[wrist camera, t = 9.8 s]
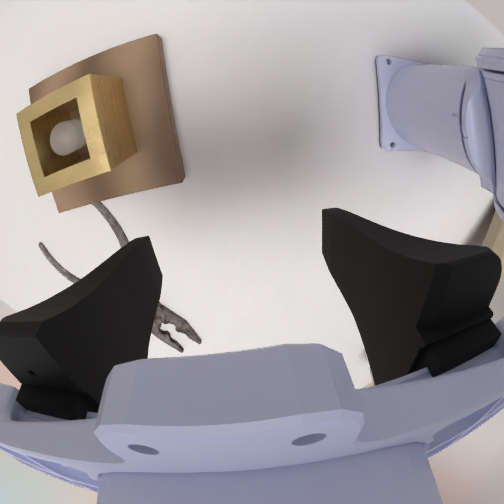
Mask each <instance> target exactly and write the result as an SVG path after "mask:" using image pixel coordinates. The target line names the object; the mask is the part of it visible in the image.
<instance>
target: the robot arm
mask: <svg viewBox="0 0 504 504" xmlns="http://www.w3.org/2000/svg"><path fill="white" fill-rule="evenodd" d="M386 60H388V61H389V64H387V63H386ZM476 61H477V64H478V66H464V65H430V64H426V63H421V62H417V61H412V60H407V59H402V58H396V57H391V56H384V55H380V56H377V58H376V66H377V76H378V88H379V105H380V142H381V147H382V149H384V150H386V151H429V152H431V153H434V154H436V155H439V156H441V157H443V158H446V159H448V160H450V161H452V162H454V163H457V164H459V165H461V166H463V167H465V168H467V169H469V170H471V171H473V172H475V173H477V174H479V176H480V180H481V187H483V188H485V189H486V190H488V191H490V192H492V193H493V194H494V206H495V210H496V212H497V214H498V215H499V217H500V218H501V219H502V220H503V222H504V48H482V49H481V51H480V53H479V55H477V56H476ZM391 142H393V146H392V147H390V143H391ZM322 253H323V256H324V258H325V261H326V264H327V266H328V269H329V271H330V273H331V275H332V277H333V278H334V280H335V282H336V284H337V286H338V288H339V289H340V291H341V293H342V295H343V297H344V298H345V300H346V302H347V304H348V306H349V308H350V310H351V312H352V314H353V316H354V319H355V321H356V324H357V327H358V330H359V332H360V335H361V338H362V341H363V344H364V347H365V350H366V354H367V357H368V361H369V364H370V368H371V372H372V375H373V380H374V384H375V386H373V387H370V388H364V389H355V388H354V385H353V382H352V380H351V377H350V374H349V372H348V369H347V366H346V364H345V361H344V358H343V356H342V354H341V353H339V352H337V351H335V350H332V349H330V348H328V347H326V346H324V345H321V344H316V343H313V344H282V345H276V346H270V347H263V348H257V349H249V350H242V351H234V352H226V353H217V354H207V355H197V356H185V357H171V358H153V359H147V358H148V347H149V341H150V336H151V331H152V327H153V323H154V319H155V315H156V311H157V307H158V303H159V299H160V295H161V287H162V273H161V270H160V267H159V265H158V262H157V259H156V256H155V253H154V250H153V247H152V244H151V241H150V238H149V236H146V237H140V238H136V239H134V240H132V241H130V242H129V243H127V244H126V245H125V246H123V247H122V248H121V249H119V250H118V251H117V252H116V253H114V254H113V255H112V256H111V257H109V258H108V259H107V260H106V261H104V262H103V263H102V264H101V265H99V266H98V267H97V268H95V269H94V270H93V271H91V272H90V273H89V274H88V275H86V276H85V277H83V278H82V279H81V280H79V281H77V282H76V283H74V284H73V285H71V286H70V287H68V288H67V289H65V290H63V291H61V292H60V293H58V294H56V295H54V296H53V297H51V298H49V299H47V300H45V301H43V302H41V303H39V304H37V305H35V306H32V307H30V308H28V309H25V310H23V311H20V312H17V313H15V314H12V315H9V316H6V317H4V318H3V319H2V320H1V321H0V360H1V362H2V363H3V364H4V365H5V366H6V367H7V368H8V370H9V371H10V372H11V373H12V374H13V375H14V376H15V377H16V378H17V379H18V380H19V382H20V383H22V385H21V388H20V390H18V389H17V388H15V387H13V386H10V385H5V384H2V383H0V449H1V450H3V451H4V452H6V453H7V454H9V455H10V456H12V457H13V458H15V459H16V460H18V461H20V462H22V463H23V464H25V465H27V466H29V467H31V468H34V469H36V470H38V471H41V472H43V473H45V474H47V475H50V476H52V477H55V478H58V479H60V480H63V481H65V482H68V483H70V484H73V485H76V486H79V487H82V488H85V489H88V490H91V491H95V492H98V498H97V504H443V503H442V500H441V497H440V494H439V491H438V488H437V484H436V482H435V478H434V476H433V473H432V470H431V467H430V464H429V462H428V459H427V458H429V457H431V456H433V455H435V454H436V453H438V452H440V451H442V450H443V449H445V448H447V447H449V446H450V445H452V444H453V443H455V442H457V441H458V440H460V439H461V438H463V437H464V436H466V435H468V434H469V433H470V432H472V431H473V430H475V429H476V428H478V427H479V426H481V425H482V424H483V423H485V422H486V421H487V420H489V419H490V418H491V417H493V416H494V415H495V414H497V413H498V412H499V411H500V410H502V409H503V408H504V317H503V318H502V319H500V320H499V321H498V322H497V323H496V324H494V323H493V322H492V320H491V319H490V318H492V316H493V312H492V310H491V309H490V308H489V307H488V306H489V304H490V302H491V300H492V298H493V295H494V293H495V291H496V289H497V286H498V284H499V281H500V278H501V272H502V264H501V259H500V258H499V256H498V255H497V254H496V253H495V252H493V251H492V250H491V249H490V248H488V247H486V246H470V245H457V244H450V243H443V242H437V241H432V240H428V239H423V238H419V237H415V236H411V235H408V234H405V233H401V232H398V231H395V230H392V229H390V228H387V227H384V226H382V225H379V224H377V223H374V222H372V221H369V220H367V219H365V218H362V217H360V216H358V215H355V214H353V213H351V212H348V211H345V210H343V209H339V208H330V209H322Z"/></svg>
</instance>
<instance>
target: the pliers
mask: <svg viewBox="0 0 504 504" xmlns="http://www.w3.org/2000/svg"><path fill="white" fill-rule="evenodd" d="M92 205H94V206H95V207H96V209H97V210H98V211H99V212H100V213H101V214H102V215H103V216H104V218H105V219H106V220H107V222H108V223H109V225H110V226H111V228H112V229H113V231H114V232H115V234H116V236H117V238H118V240H119V243H120V246H121V248H122V247H123V246H125V245H126V244H127V243H129V242H128V239H127V237H126V235H125V233H124V232H123V230H122V228H121V226H120V225H119V224H118V222H117V221H116V219H115V218H114V217H113V215H112V214H111V213H110V212H109V211H108V209H107V208H106V207H105V206H104V205H103V204H102V203H101V202H100V201H99V202H96V203H92ZM39 247H40V249H41V251H42V252H43V254H44V255H45V257H46V258H47V259H48V260H49V262H50V263H51V264H52V265H53V266H54V267H55V268H56V269H57V270H58V271H59V272H60V273H61V274H62V275H63V276H65V277H66V278H67V279H68V280H70V281H71V282H73V283H76V282H77V281H79V280H81V279H79V278H77V277H76V276H74V275H72V274H71V273H69V272H68V271H67V270H66V269H64V268H63V267H62V266H61V265H60V264H59V263H58V262H57V261H56V260H55V259H54V258H53V257H52V256H51V254H50V253H49V252H48V250H47V249H46V247H45V246H44V245H43V243H41V242H40V243H39ZM161 323H164V324H168V323H170V324H174V325H175V327H176V331H177V332H181V333H184V334H186V335H187V336H188V338H189V339H191V340H193V341H195V342H197V343H198V344H201V339H200V338H199V336H198V335H197V334H196V332H195V331H194V330H193V329H192V327H191V326H190V325H189V323H188V322H187V321H186V320H185V319H183V318H182V317H180V316H178V315H177V314H175V313H174V312H172V311H171V310H169V309H168V308H166V307H165V306H163V305H162V306H161V303H160V302H159V303H158V307H157V311H156V315H155V319H154V323H153V327H152V331H151V333H153V334H154V335H155V336H156V337H157V338H159V339H160V340H162V341H163V342H165V343H166V344H168V345H170V346H171V347H173V348H175V349H176V350H178V351H180V352H181V353H182V352H183V348H182V346H181V345H180V344H179V343H178V342H177V341H175V340H173V339H172V338H171V337H170V333H169V332H168V331H163V330H161V329H160V327H161Z"/></svg>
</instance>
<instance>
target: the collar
mask: <svg viewBox="0 0 504 504" xmlns="http://www.w3.org/2000/svg"><path fill="white" fill-rule="evenodd" d="M77 109H79V113H80V117H81V122H82V126H83V131H84V135H85V139H86V143H87V147H88V151H89V154H88V155H85V156H82V157H80V154H79V150H76V151H74V152H72V153H69V154H67V155H64V156H61V155H58V154H56V153H55V152H54V151H53V149H52V147H51V144H50V135H51V132H52V130H53V128H54V127H55V126H56V125H57V124H58V123H60V122H64V121H68V120H71V116H70V113H71V112H73V111H75V110H77ZM17 119H18V125H19V129H20V134H21V138H22V143H23V147H24V151H25V155H26V158H27V162H28V166H29V169H30V172H31V176H32V179H33V182H34V185H35V188H36V191H37V194H38V197H40V196H42V195H45V194H47V193H50V192H52V191H55V190H57V189H60V188H62V187H65V186H68V185H70V184H73V183H76V182H79V181H82V180H84V179H87V178H90V177H93V176H96V175H99V174H102V173H105V172H109V171H111V170H113V169H114V168H115V167H117V166H118V165H120V164H121V163H122V162H124V161H125V160H127V159H128V158H130V157H131V156H133V155H134V154H136V153H137V148H136V143H135V139H134V135H133V131H132V126H131V122H130V117H129V112H128V107H127V103H126V97H125V92H124V87H123V81H122V78H120V77H113V76H105V75H96V74H88V75H85V76H83V77H81V78H79V79H77V80H75V81H73V82H71V83H69V84H67V85H65V86H63V87H61V88H59V89H57V90H55V91H53V92H52V93H50V94H48V95H46V96H44V97H43V98H41V99H39V100H38V101H36V102H34V103H33V104H31V105H29V106H28V107H26V108H25V109H23V110H22V111H20V112H19V113H17Z"/></svg>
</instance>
